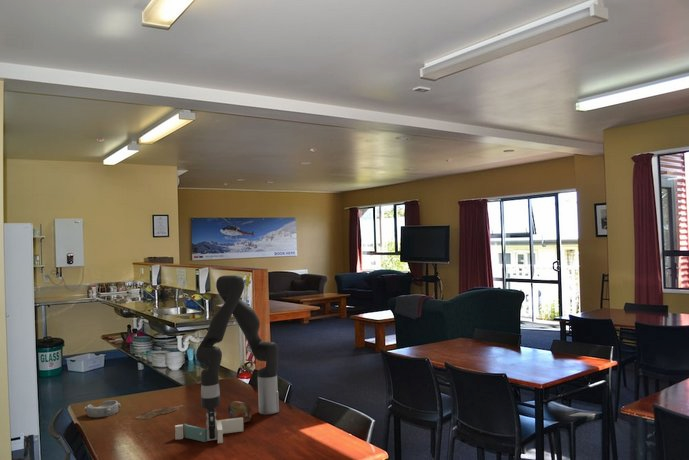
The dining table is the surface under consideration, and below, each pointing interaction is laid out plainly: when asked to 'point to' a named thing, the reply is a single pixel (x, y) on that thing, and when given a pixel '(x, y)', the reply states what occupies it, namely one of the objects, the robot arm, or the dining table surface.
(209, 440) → the block
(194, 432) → the teal long flat block
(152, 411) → the wooden fragment
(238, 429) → the grey angled piece
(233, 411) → the tin
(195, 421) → the dining table surface
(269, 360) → the robot arm
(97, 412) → the dish
